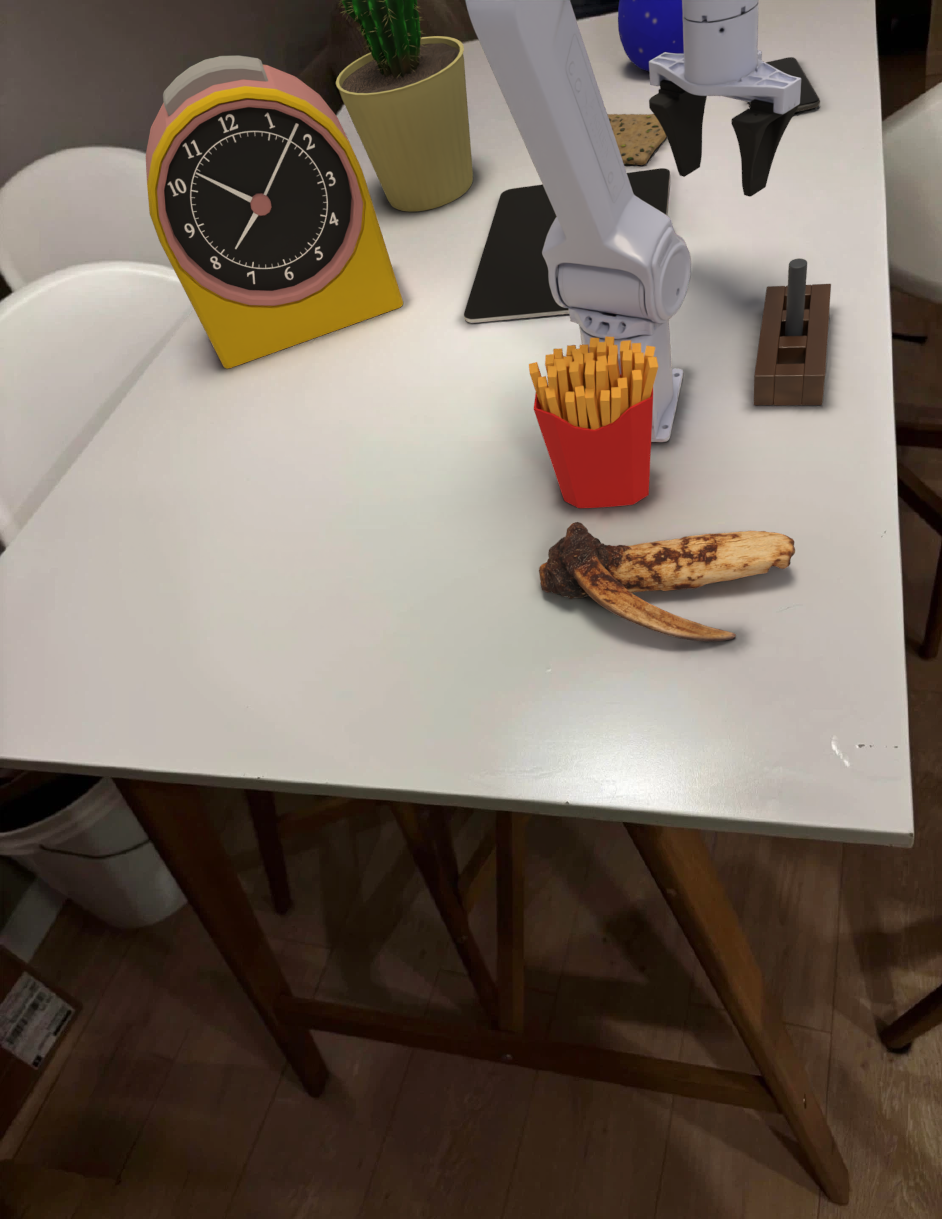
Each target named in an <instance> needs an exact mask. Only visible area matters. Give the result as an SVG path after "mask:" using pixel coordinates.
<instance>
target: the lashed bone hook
mask: <svg viewBox="0 0 942 1219" xmlns="http://www.w3.org/2000/svg"><path fill="white" fill-rule="evenodd" d="M795 553H796V548H795V541H794V538H792V537H790V536H788V535H786V534H784V533H780V532H774V531H766V530H745V531H743V530H742V531H733V532H732V531H731V532H717V533H704V534H697V535H688V536H682V537H681V538H672V539H665V540H656V541H649V542H642V543H637V544H630V545H626V544H625V545H624V544H618V545H611V544H605V543H602V542H601V540H600V539H599V538H598V537H595V536H593V535H592V533H590V532H589V530H588V528H587V527H586V526H585V525H584V524H583V523H582V522H580V521H575V522H572V523H570V525H569V526H568V527H567V528H566V533H565V536H563V537H561V538H560V539H559V540H558V541H557V542H556V543H555V544H553V545H552V546H551V547H550V548H549V549H548V554H547V557H548V559H547V560H546V562H544V563H542V564H541V565H540V566H539V567H538V574H539V575H538V576H539V580H540V586H541V587H540V588H541V590H542V591H544V592H545V593H552V594H553V595H554V594H555V595H561V597H562V598H565V597H566V598H568V599H570V600H573V599H583V598H585V597H590V598H591V599H592V600H593V601H594V602H595V603H596V604H598V605H599V606H601V607H603V608H604V609H606V610H607V611H609V612H610V613H612V614H614V615H615V616H617V617H619V618H621V619H623V620H625V621H628V622H630V623H632V624H635V625H637V626H640V627H642V628H644V629H647V630H650V631H652V632H655V633H659V634H662V635H665V636H668V637H674V638H676V639H683V640H687V641H695V642H705V643H707V642H724V641H729V640H733V639H735V638H736V637H737V634H736V633H735V632H731V631H728V630H723V629H721V628H715V627H712V626H708V625H705V624H702V623H700V622H696V621H693V620H689V619H687V618H685V617H681V616H679V615H676V614H674V613H671V612H669V611H667V610H664V609H663V608H660V607H658V606H656V605H654V604H652V603H649V602H648V601H646V600H644V599H642V598H640V597H639V596H637V595H635V593H644V592H653V591H663V592H669V591H679V590H688V589H689V590H690V589H691V590H693V589H698V588H701V587H704V586H705V585H709V584H715V583H721V582H727V581H728V582H729V581H734V580H737V579H742V578H745V577H751V576H757V575H762V574H767V573H769V572H770V570H771V568H775V567H776V568H778V569H780V570H785V569H787V568H788V567H789V566H790V565H791V563H792V562H791V560H792V557H793V556H794V555H795Z"/></svg>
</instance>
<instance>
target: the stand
mask: <svg viewBox="0 0 942 1219" xmlns="http://www.w3.org/2000/svg"><path fill="white" fill-rule="evenodd" d="M787 288H788V285H768V286H766V290H765V296H764V303H763V310H762V318H761V325H760V332H759V339H758V347H757V354H756V359H755V367H754V374H753V406H823V401H824V392H825V381H826V368H827V352H828V339H829V337H828V336H829V324H830V323H829V322H830V320H829V319H830V309H831V308H830V307H831V293H832V283H814V284H806V291H805V305H804V319H803V334H802V336H785V326H786V307H787Z"/></svg>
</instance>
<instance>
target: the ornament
mask: <svg viewBox="0 0 942 1219" xmlns="http://www.w3.org/2000/svg"><path fill="white" fill-rule="evenodd" d="M617 28H618V34H619V40H620V43H621V46H622V48H623V51H624V53H625V55H626V56H627V58H628V59H629V61H630V62H631V63H632V64H634V65H635V66H636V67H637V68H638V69H640V70H642V71H646V72H649V61H650V60H652V59H654V58H656V57H657V56H659V55H661V54H663V53H664V52H667V53H675V54H684V42H683V13H682V0H619V2H618V8H617Z"/></svg>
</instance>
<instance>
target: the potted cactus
mask: <svg viewBox="0 0 942 1219" xmlns="http://www.w3.org/2000/svg"><path fill="white" fill-rule="evenodd" d="M335 2H339V3H338V4H337V6H336V7H337V8H335V10H337V9H339V8H340V5H342V7H344V10H343V11H341V12H340V14H342V15H341V18H343V17H344V16H345V15H347V16H350V17H349V18H351V19H353V22H352V28H354V27H353V26H354V24H355V22H356V23H358V24H359V26H358V27H356V28H355V30H358V32H360V33H361V34H360V35H359V40H361V38H362V37H364V41H365V42H364V43H362V44H360V45H359V47H362V46H364V45H365V44H366V46H364V47H363V50H364V49H366V50H368V51H369V52H368V53H367V54H364V55H362V56H361V57H359V58H358V59H355V60H354V61H352V62H351V63H350V64H348V65H347V66H346V67H344V69H343V70H341V72H339V75H338V76H337V77H336V81H335V85H336V88H337V89H338V92H339V94H340V97H341V100H342V103H343V104H344V107H345V109H346V111H347V114H348V115H349V117H350V119H351V122H352V124H353V126H354V128H355V130H356V133H357V135H358V137H359V139H360V141H361V144H362V146H363V148H364V150H365V153H366V155H367V157H368V159H369V162H370V164H371V166H372V168H373V170H374V172H375V174H376V178H377V180H378V181H379V184H380V186H381V189H382V190H383V193H384V194H385V197H386V199H387V201H388V202H389V204H390V205H391V207H392V208H393V209H396V210H398V211H402V212H411V213H412V212H413V213H414V212H423V211H429V210H433V209H437V208H440V207H442V206H445V205H448V204H449V203H452V202H454V201H455V200H457V199H459V198H460V197H461V196H463V195H464V194H465V193H466V192H467V191H469V189H470V188H471V187H472V184H473V180H474V172H473V158H472V146H471V132H470V131H471V130H470V119H469V108H468V107H469V106H468V95H467V92H468V91H467V81H466V67H465V57H464V52H465V50H464V49H465V47H464V44H463V42H462V41H461V40H458V39H457V38H454V37H450V36H443V35H442V36H441V35H436V36H435V35H434V36H433V35H432V34H430V35H431V36H423V35H425V33H424V31H425V30H421V25H420V24H421V22H422V21H426V20H428V18H427V19H426V18H425V17H426V16H423V19H422V16H420V14H422V12H421V11H420V10H423V9H424V8H422V5H421V6H418V5H420V2H418V0H337V1H335ZM419 13H420V14H419ZM424 18H425V19H424ZM347 19H348V17H346V18H345V20H347ZM350 21H351V20H349V22H348V23H350ZM421 36H422V37H421ZM359 40H358V41H359Z"/></svg>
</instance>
